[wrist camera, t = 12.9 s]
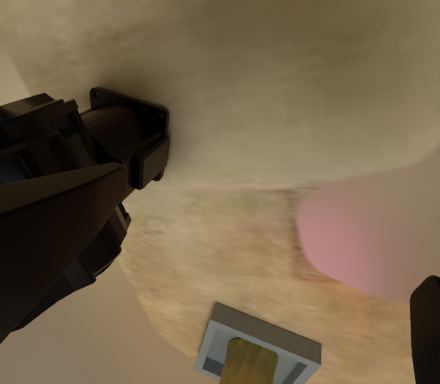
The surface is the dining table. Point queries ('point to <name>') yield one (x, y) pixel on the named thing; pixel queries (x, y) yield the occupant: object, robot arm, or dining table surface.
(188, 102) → the dining table surface
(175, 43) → the dining table surface
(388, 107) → the dining table surface
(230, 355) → the vase
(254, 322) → the tray
